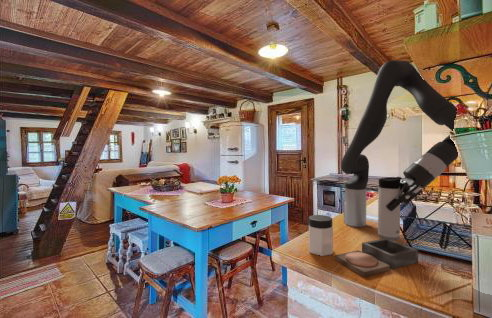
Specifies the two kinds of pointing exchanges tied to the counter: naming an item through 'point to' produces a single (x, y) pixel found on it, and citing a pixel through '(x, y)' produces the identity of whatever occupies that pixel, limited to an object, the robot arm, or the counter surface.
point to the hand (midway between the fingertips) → (384, 206)
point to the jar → (320, 235)
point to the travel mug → (387, 218)
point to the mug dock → (378, 257)
